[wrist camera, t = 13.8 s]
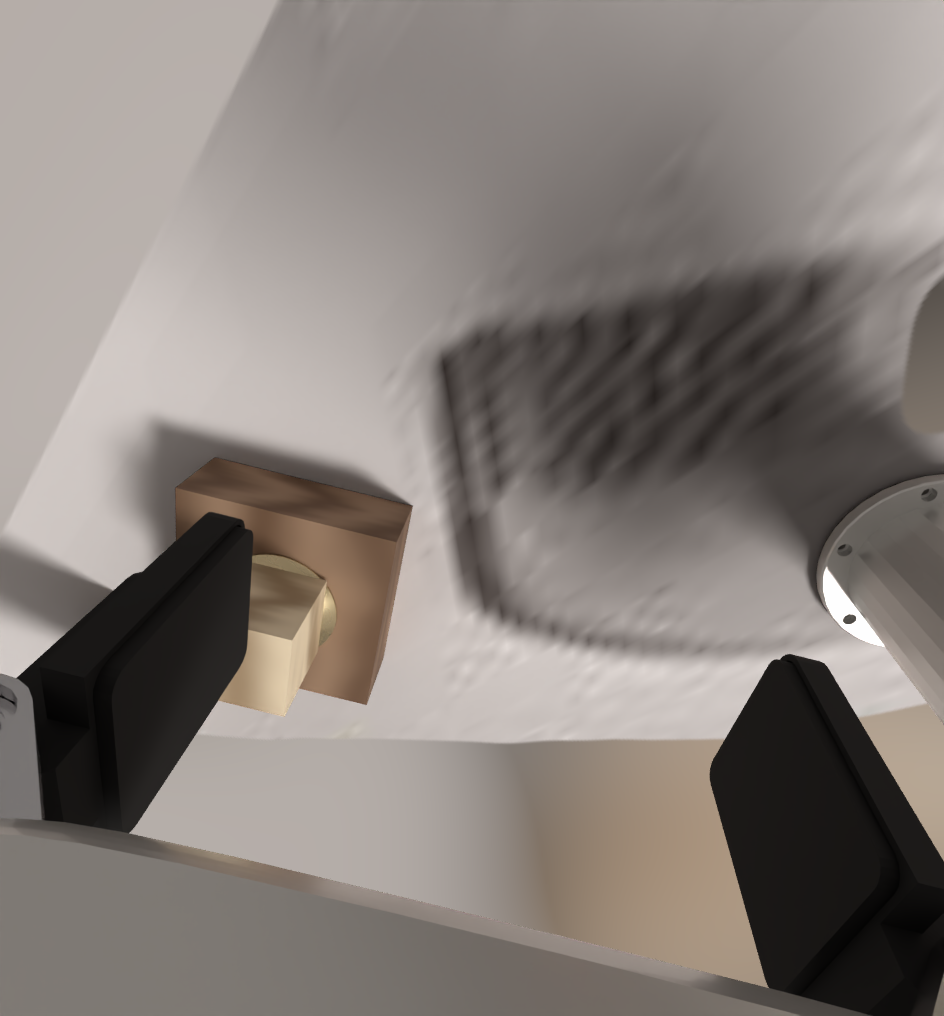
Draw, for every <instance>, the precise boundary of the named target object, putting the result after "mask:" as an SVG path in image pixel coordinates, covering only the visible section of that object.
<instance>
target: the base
mask: <svg viewBox="0 0 944 1016" xmlns="http://www.w3.org/2000/svg"><path fill="white" fill-rule="evenodd" d="M175 498H176V541H177V540H178V539H179V538H180V537H181V536H182V535H183V534H184V533H185V532H186V531H187V530H189V529H190V528H191V527H192V526H193V525H194V524H195V523H196V522H197V521H198V520H199V519H200V518H202V517H203V516H204V515H205V514H206V513H208V512H214V513H219V514H223V515H227V516H231V517H235V518H239V519H242V520H243V521H244V524H245V529H249V530H251V531H252V532H253V554H252V562H253V563H257V564H261V565H265V566H269V567H273V568H277V569H281V570H285V571H289V572H293V573H297V574H301V575H305V576H309V577H313V578H317V579H322V580H326V581H327V584H326V592H325V599H324V607H323V615H322V623H321V630H320V638H319V646H318V652H317V654H316V656H315V658H314V660H313V662H312V664H311V666H310V668H309V670H308V672H307V673H306V675H305V677H304V679H303V681H302V683H301V685H300V687H299V688H300V689H304V690H308V691H312V692H316V693H320V694H324V695H328V696H332V697H336V698H341V699H345V700H349V701H353V702H357V703H361V704H365V705H367V702H368V699H369V697H370V694H371V691H372V688H373V685H374V683H375V680H376V677H377V674H378V671H379V669H380V666H381V663H382V660H383V657H384V651H385V646H386V641H387V636H388V631H389V626H390V620H391V615H392V610H393V605H394V600H395V595H396V589H397V584H398V579H399V574H400V569H401V564H402V558H403V553H404V548H405V543H406V538H407V533H408V528H409V522H410V517H411V512H412V507H413V506H410V505H406V504H402V503H398V502H394V501H390V500H386V499H382V498H378V497H373V496H369V495H365V494H361V493H357V492H353V491H349V490H345V489H341V488H337V487H333V486H329V485H325V484H321V483H317V482H312V481H308V480H304V479H300V478H296V477H292V476H288V475H284V474H280V473H276V472H272V471H268V470H264V469H260V468H256V467H251V466H247V465H243V464H239V463H235V462H231V461H227V460H223V459H219V458H213V459H212V460H211V461H210V462H208V463H207V464H206V465H204V466H203V467H202V468H200V469H199V470H198V471H197V472H195V473H194V474H193V475H191V476H190V477H189V478H188V479H186V480H185V481H184V482H182V483H181V484H180V485H179V486H177V487H176V488H175Z"/></svg>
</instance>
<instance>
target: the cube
mask: <svg viewBox="0 0 944 1016" xmlns="http://www.w3.org/2000/svg"><path fill="white" fill-rule="evenodd" d="M326 584H327V581H326V580H322V579H317V578H313V577H309V576H305V575H301V574H297V573H293V572H289V571H285V570H281V569H277V568H273V567H269V566H265V565H261V564H257V563H253V562H252V572H251V589H250V607H249V625H248V643H247V651H246V655H245V657H244V660H243V662H242V665H241V666H240V668H239V670H238V671H237V673H236V674H235V676H234V677H233V679H232V680H231V682H230V683H229V685H228V686H227V688H226V689H225V691H224V692H223V694H222V695H221V697H220V698H219V700H218V701H222V702H226V703H230V704H235V705H239V706H243V707H247V708H251V709H255V710H259V711H263V712H267V713H271V714H275V715H279V716H283V717H285V715H286V713H287V711H288V709H289V707H290V705H291V703H292V701H293V699H294V697H295V695H296V693H297V691H298V689H299V687H300V685H301V683H302V681H303V679H304V677H305V675H306V673H307V672H308V670H309V668H310V666H311V664H312V662H313V660H314V658H315V656H316V654H317V652H318V646H319V638H320V630H321V623H322V615H323V607H324V599H325V592H326Z"/></svg>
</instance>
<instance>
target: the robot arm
mask: <svg viewBox="0 0 944 1016" xmlns="http://www.w3.org/2000/svg"><path fill="white" fill-rule="evenodd" d="M252 554H253V532H252V531H251V530H249V529H245V524H244V521H243V520H242V519H239V518H235V517H231V516H227V515H223V514H219V513H214V512H208V513H206V514H205V515H204V516H203V517H202V518H200V519H199V520H198V521H197V522H196V523H195V524H194V525H193V526H192V527H191V528H190V529H189V530H187V531H186V532H185V533H184V534H183V535H182V536H181V537H180V538H179V539H178V540H177V541H175V542H174V543H173V544H172V545H171V546H170V547H169V548H168V549H167V550H166V551H165V552H163V553H162V554H161V555H160V556H159V557H158V558H157V559H156V560H155V561H154V562H153V563H151V564H150V565H149V566H148V567H147V568H146V569H145V570H144V571H143V572H139V573H135V574H133V575H131V576H130V577H129V578H127V579H126V580H125V581H124V582H123V583H121V584H120V585H119V586H118V587H117V588H116V589H115V590H114V591H113V592H111V593H110V594H109V595H108V596H107V597H106V598H105V599H104V600H103V601H101V602H100V603H99V604H98V605H97V606H96V607H95V608H94V609H93V610H91V611H90V612H89V613H88V614H87V615H86V616H85V617H84V618H83V619H81V620H80V621H79V622H78V623H77V624H76V625H75V626H74V627H73V628H71V629H70V630H69V631H68V632H67V633H66V634H65V635H64V636H63V637H61V638H60V639H59V640H58V641H57V642H56V643H55V644H54V645H53V646H51V647H50V648H49V649H48V650H47V651H46V652H45V653H44V654H43V655H41V656H40V657H39V658H38V659H37V660H36V661H35V662H34V663H33V664H31V665H30V666H29V667H28V668H27V669H26V670H25V671H24V672H23V673H22V674H20V675H19V676H18V677H17V678H13V677H10V676H7V675H4V674H0V1016H944V861H943V859H942V858H941V856H940V854H939V853H938V851H937V850H936V848H935V846H934V845H933V843H932V841H931V839H930V838H929V836H928V834H927V833H926V831H925V829H924V828H923V826H922V824H921V823H920V821H919V819H918V818H917V816H916V814H915V813H914V811H913V809H912V808H911V806H910V804H909V802H908V801H907V799H906V797H905V796H904V794H903V792H902V791H901V789H900V787H899V786H898V784H897V782H896V781H895V779H894V777H893V776H892V774H891V772H890V771H889V769H888V767H887V766H886V764H885V762H884V761H883V759H882V757H881V756H880V754H879V752H878V751H877V749H876V747H875V746H874V744H873V742H872V741H871V739H870V737H869V736H868V734H867V732H866V731H865V729H864V727H863V726H862V724H861V722H860V721H859V719H858V717H857V716H856V714H855V712H854V711H853V709H852V707H851V705H850V704H849V702H848V700H847V699H846V697H845V695H844V694H843V692H842V690H841V689H840V687H839V685H838V684H837V682H836V680H835V679H834V677H833V675H832V674H831V672H830V670H829V669H828V667H827V666H826V665H825V664H824V663H822V662H820V661H816V660H812V659H808V658H804V657H800V656H796V655H792V654H787V655H785V656H783V657H782V658H781V659H780V660H773V661H772V662H771V663H770V664H769V665H768V667H767V669H766V670H765V672H764V674H763V676H762V677H761V679H760V681H759V682H758V684H757V686H756V688H755V689H754V691H753V693H752V694H751V696H750V698H749V699H748V701H747V703H746V705H745V706H744V708H743V710H742V711H741V713H740V715H739V717H738V718H737V720H736V722H735V723H734V725H733V727H732V728H731V730H730V732H729V734H728V735H727V737H726V739H725V740H724V742H723V744H722V746H721V747H720V749H719V751H718V753H717V754H716V756H715V757H714V759H713V761H712V764H711V768H710V782H711V786H712V790H713V794H714V797H715V801H716V804H717V808H718V811H719V815H720V819H721V822H722V826H723V830H724V833H725V837H726V840H727V844H728V848H729V851H730V855H731V858H732V862H733V866H734V869H735V873H736V876H737V880H738V883H739V887H740V891H741V894H742V898H743V901H744V905H745V909H746V912H747V916H748V919H749V923H750V927H751V930H752V934H753V937H754V941H755V944H756V948H757V952H758V955H759V959H760V962H761V966H762V969H763V973H764V977H765V980H766V982H767V985H768V987H769V988H766V987H762V986H758V985H754V984H750V983H746V982H742V981H738V980H734V979H730V978H726V977H722V976H718V975H715V974H710V973H707V972H703V971H699V970H694V969H691V968H686V967H683V966H679V965H675V964H671V963H667V962H663V961H659V960H655V959H651V958H647V957H643V956H639V955H635V954H631V953H627V952H623V951H619V950H615V949H611V948H607V947H603V946H599V945H595V944H591V943H587V942H583V941H579V940H575V939H571V938H567V937H562V936H558V935H555V934H551V933H547V932H542V931H538V930H534V929H530V928H526V927H522V926H518V925H514V924H510V923H506V922H502V921H498V920H493V919H490V918H486V917H482V916H477V915H473V914H469V913H465V912H461V911H457V910H453V909H449V908H445V907H440V906H437V905H432V904H429V903H424V902H420V901H416V900H412V899H408V898H404V897H400V896H396V895H392V894H387V893H383V892H379V891H375V890H370V889H367V888H362V887H358V886H354V885H350V884H346V883H341V882H337V881H333V880H329V879H325V878H321V877H316V876H312V875H308V874H304V873H300V872H296V871H292V870H287V869H283V868H279V867H275V866H271V865H266V864H262V863H258V862H254V861H249V860H246V859H241V858H237V857H233V856H229V855H224V854H219V853H215V852H210V851H206V850H201V849H197V848H192V847H188V846H183V845H179V844H174V843H170V842H165V841H161V840H156V839H151V838H147V837H143V836H138V835H133V834H129V832H131V830H132V829H133V828H134V827H135V826H136V824H137V823H138V821H139V820H140V818H141V817H142V815H143V814H144V812H145V811H146V809H147V808H148V806H149V804H150V803H151V802H152V800H153V799H154V797H155V796H156V794H157V793H158V791H159V790H160V788H161V787H162V785H163V784H164V782H165V780H166V779H167V777H168V776H169V774H170V773H171V771H172V770H173V768H174V767H175V765H176V764H177V762H178V761H179V759H180V758H181V756H182V755H183V753H184V752H185V750H186V748H187V747H188V746H189V744H190V742H191V741H192V739H193V738H194V736H195V735H196V733H197V732H198V730H199V729H200V727H201V726H202V724H203V723H204V721H205V720H206V718H207V717H208V715H209V714H210V712H211V711H212V709H213V708H214V706H215V705H216V703H217V701H218V700H219V698H220V697H221V695H222V694H223V692H224V691H225V689H226V688H227V686H228V685H229V683H230V682H231V680H232V679H233V677H234V676H235V674H236V673H237V671H238V670H239V668H240V666H241V665H242V662H243V660H244V657H245V655H246V651H247V643H248V625H249V607H250V589H251V572H252ZM816 578H817V589H818V592H819V595H820V598H821V601H822V603H823V605H824V606H825V608H826V609H827V611H828V613H829V614H830V616H831V617H832V618H833V619H834V621H835V622H836V623H837V624H838V625H839V626H840V627H841V628H842V629H844V630H845V631H846V632H848V633H849V634H851V635H852V636H854V637H856V638H858V639H860V640H863V641H865V642H867V643H870V644H874V645H878V646H882V647H886V649H887V650H888V651H889V653H890V654H891V655H892V657H893V658H894V659H895V661H896V662H897V663H898V665H899V666H900V667H901V669H902V670H903V671H904V673H905V674H906V675H907V677H908V678H909V679H910V681H911V682H912V683H913V685H914V686H915V687H916V689H917V690H918V691H919V693H920V694H921V695H922V697H923V698H924V699H925V701H926V702H927V703H928V705H929V706H930V707H931V708H932V710H933V711H934V713H935V714H936V715H937V716H938V718H939V719H940V720H941V722H942V723H943V724H944V474H941V475H931V476H924V477H920V478H916V479H912V480H908V481H904V482H902V483H899V484H897V485H894V486H892V487H889V488H887V489H884V490H882V491H881V492H879V493H877V494H875V495H874V496H872V497H870V498H869V499H867V500H865V501H864V502H862V503H861V504H860V505H859V506H857V507H856V508H855V509H854V510H852V511H851V512H850V513H849V514H847V516H846V517H845V518H844V519H843V520H842V521H841V522H840V523H839V524H838V525H837V526H836V528H835V529H834V530H833V532H832V533H831V535H830V537H829V538H828V540H827V541H826V543H825V545H824V547H823V550H822V552H821V555H820V557H819V560H818V567H817V573H816Z"/></svg>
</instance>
